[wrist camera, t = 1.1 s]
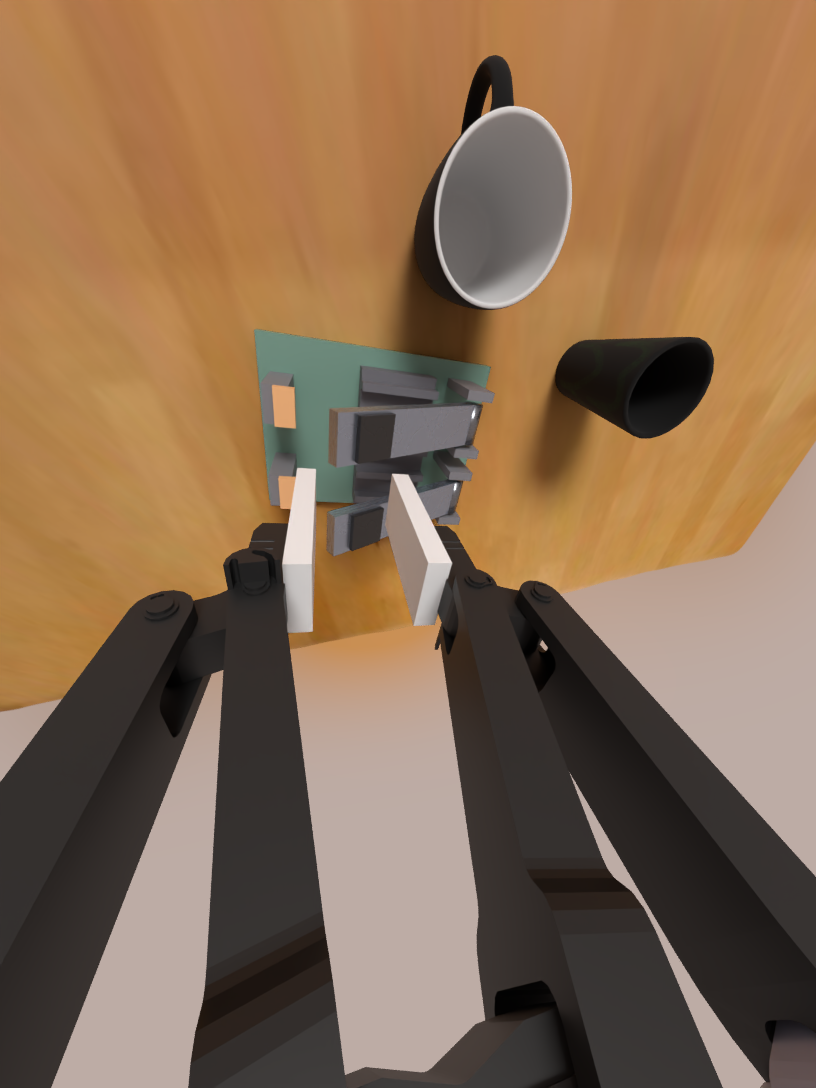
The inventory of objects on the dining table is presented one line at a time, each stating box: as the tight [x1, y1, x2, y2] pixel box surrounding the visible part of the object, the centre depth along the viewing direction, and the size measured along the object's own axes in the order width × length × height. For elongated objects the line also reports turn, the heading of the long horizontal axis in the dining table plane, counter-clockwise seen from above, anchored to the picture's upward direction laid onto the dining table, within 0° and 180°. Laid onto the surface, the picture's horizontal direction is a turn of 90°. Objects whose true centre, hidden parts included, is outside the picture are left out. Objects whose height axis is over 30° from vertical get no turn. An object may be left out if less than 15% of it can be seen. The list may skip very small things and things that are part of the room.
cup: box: [555, 337, 714, 438], centre depth 32 cm, size 8×8×12 cm
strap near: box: [328, 401, 483, 468], centre depth 27 cm, size 16×4×2 cm
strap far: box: [327, 479, 463, 556], centre depth 31 cm, size 16×4×2 cm
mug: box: [414, 55, 572, 310], centre depth 23 cm, size 12×9×10 cm
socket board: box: [254, 329, 495, 525], centre depth 33 cm, size 22×16×8 cm
